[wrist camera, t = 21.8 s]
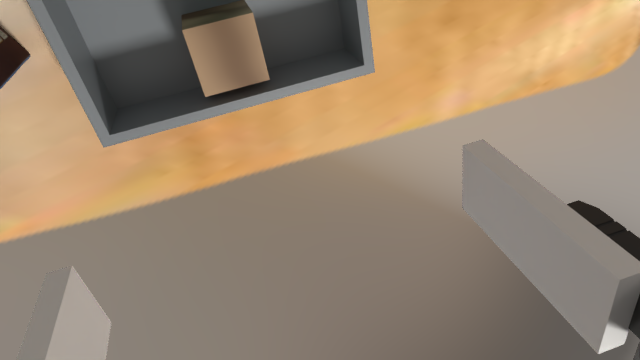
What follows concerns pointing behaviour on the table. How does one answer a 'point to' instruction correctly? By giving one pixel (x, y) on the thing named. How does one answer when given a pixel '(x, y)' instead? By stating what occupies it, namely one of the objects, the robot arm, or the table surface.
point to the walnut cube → (225, 47)
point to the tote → (176, 62)
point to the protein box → (10, 57)
